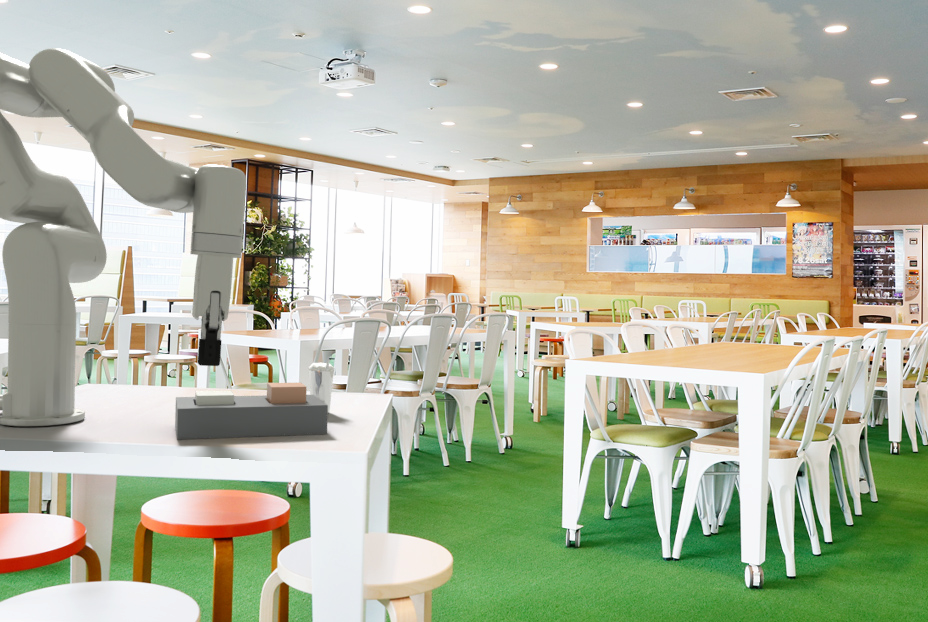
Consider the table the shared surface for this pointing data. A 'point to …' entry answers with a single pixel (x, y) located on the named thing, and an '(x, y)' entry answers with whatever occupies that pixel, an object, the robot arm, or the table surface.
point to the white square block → (214, 397)
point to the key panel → (249, 418)
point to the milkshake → (321, 381)
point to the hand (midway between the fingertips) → (208, 364)
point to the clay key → (286, 393)
